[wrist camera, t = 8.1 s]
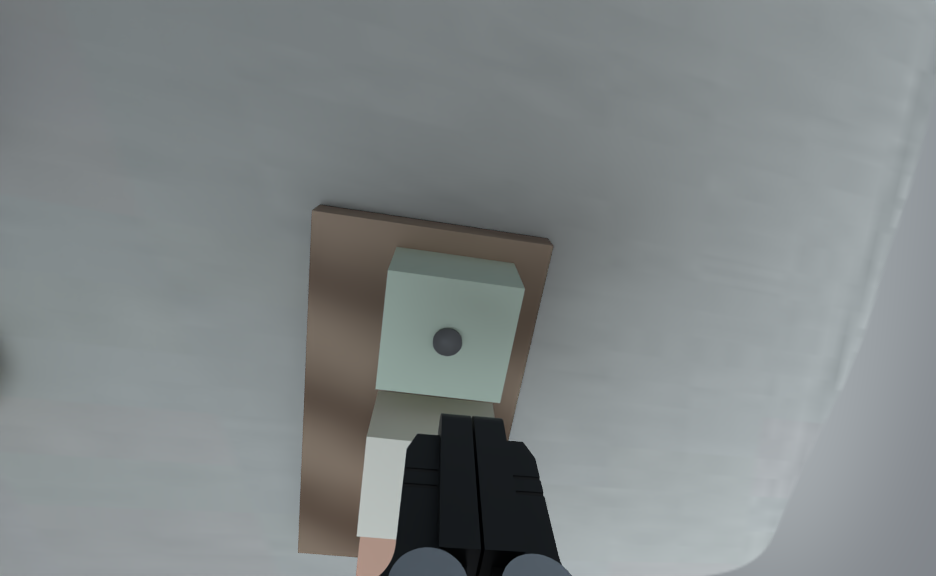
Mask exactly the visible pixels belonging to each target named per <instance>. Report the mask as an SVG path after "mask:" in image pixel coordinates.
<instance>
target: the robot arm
mask: <svg viewBox="0 0 936 576" xmlns="http://www.w3.org/2000/svg"><path fill="white" fill-rule="evenodd" d="M539 478H540V477H539V472H538V468H537V464H536V460H535V458H534V456H533V455H532V454H531V452H530V451H529V450H528V448H527V447H526V446H525V444H524V443H523V442H516V441H507V439H506V433H505V427H504V421H503V419H502V418H492V417H480V416H472V419H471V416H467V415H456V414H444V413H441V415H440V421H439V428H438V435H429V434H417V435H416V436H415V438H414V439H413V440H412V442H411V443H410V445H409V446H408V447H407V450H406V459H405V467H404V476H403V485H402V493H401V502H400V511H399V519H398V528H397V537H396V545H395V551H394V554H393V557H392V559H391V561H390V563H389V565H388V566H387V568H386V569H385V570H384V571H383V572H382V573H381V574H380V575H379V576H572V575H571V574H570V573H569V572H568V571H567V570H566V569H565V568H564V567H563V566H562V564H561V562H560V559H559V556H558V552H557V547H556V543H555V539H554V535H553V531H552V527H551V522H550V518H549V514H548V510H547V506H546V502H545V497H544V496H543V489H542V485H541V481H540V480H539Z"/></svg>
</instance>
